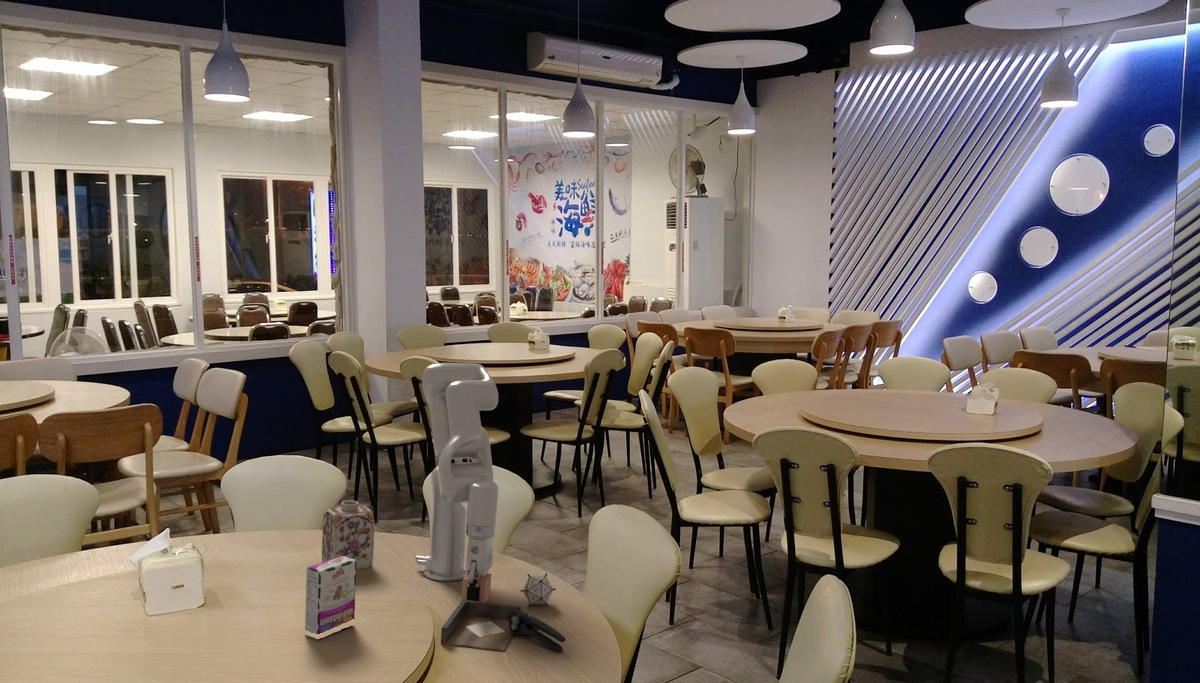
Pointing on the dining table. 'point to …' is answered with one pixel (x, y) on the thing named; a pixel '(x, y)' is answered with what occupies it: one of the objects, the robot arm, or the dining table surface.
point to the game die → (537, 590)
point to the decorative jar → (349, 533)
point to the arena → (478, 626)
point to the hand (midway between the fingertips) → (476, 595)
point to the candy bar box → (330, 594)
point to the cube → (483, 584)
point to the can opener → (534, 628)
